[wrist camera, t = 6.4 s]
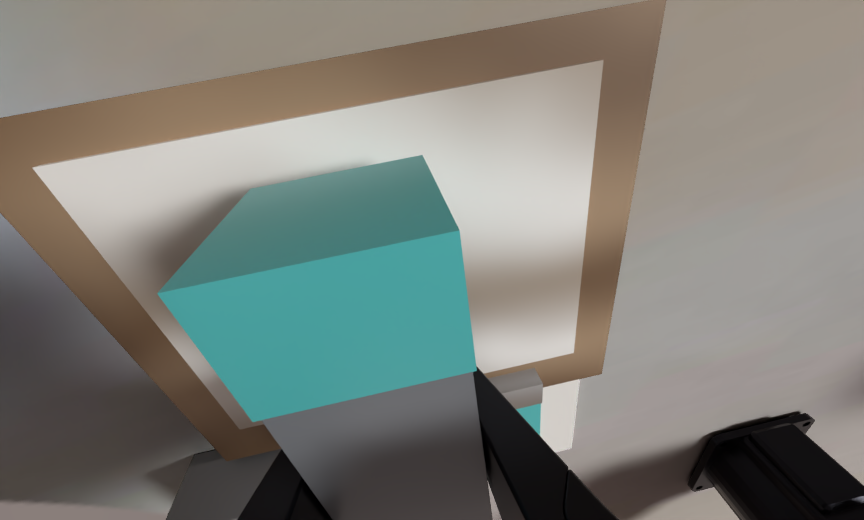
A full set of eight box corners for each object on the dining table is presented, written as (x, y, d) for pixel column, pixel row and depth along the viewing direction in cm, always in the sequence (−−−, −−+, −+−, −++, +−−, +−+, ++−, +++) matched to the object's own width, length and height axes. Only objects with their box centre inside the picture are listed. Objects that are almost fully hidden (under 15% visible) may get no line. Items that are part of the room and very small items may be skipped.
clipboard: (589, 356, 15) (612, 389, 14) (235, 437, 15) (219, 482, 13) (637, 2, 9) (695, -9, 7) (-26, 123, 8) (-122, 139, 6)
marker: (470, 439, 13) (500, 558, 10) (376, 461, 12) (377, 589, 9) (422, 154, 7) (459, 230, 4) (250, 188, 7) (156, 293, 4)
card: (568, 443, 19) (572, 450, 19) (482, 464, 19) (484, 471, 19) (576, 373, 16) (581, 380, 16) (473, 397, 16) (475, 404, 15)
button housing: (408, 496, 20) (413, 562, 17) (268, 530, 19) (252, 603, 17) (374, 413, 15) (375, 485, 13) (194, 454, 15) (157, 537, 12)
